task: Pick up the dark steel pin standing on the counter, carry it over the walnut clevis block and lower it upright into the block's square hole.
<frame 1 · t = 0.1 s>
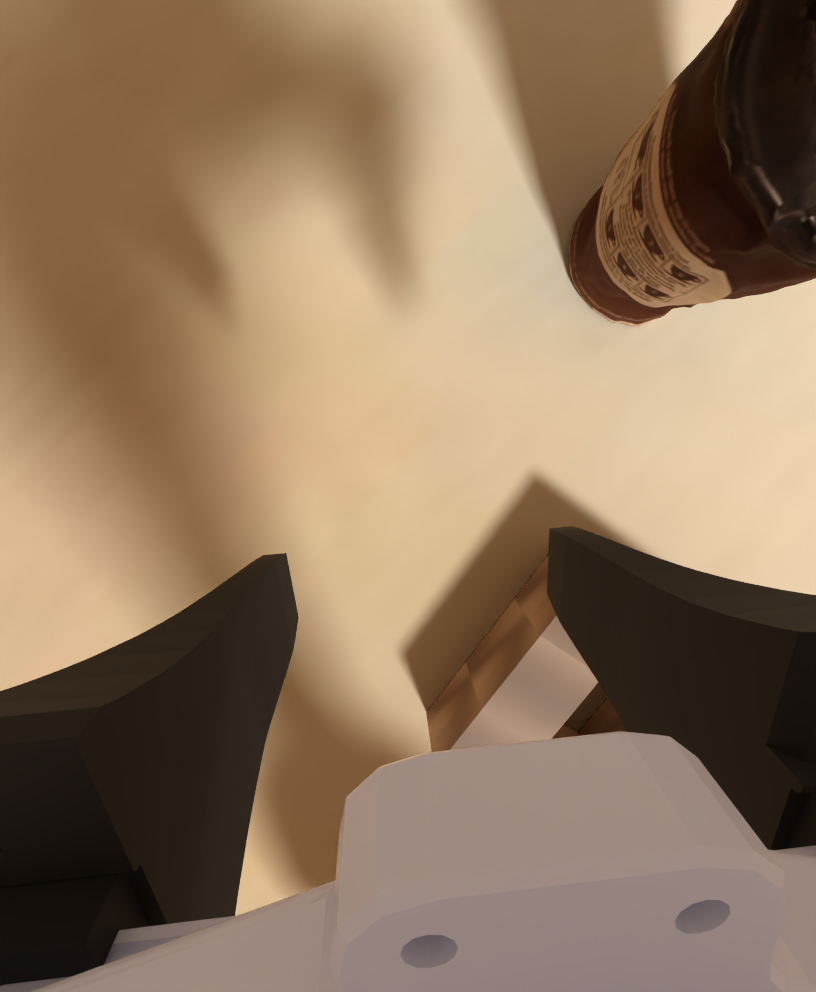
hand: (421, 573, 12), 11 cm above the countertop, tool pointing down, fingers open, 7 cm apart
clevis block: (572, 684, 25), on the countertop
coffee cup: (626, 259, 21), on the countertop
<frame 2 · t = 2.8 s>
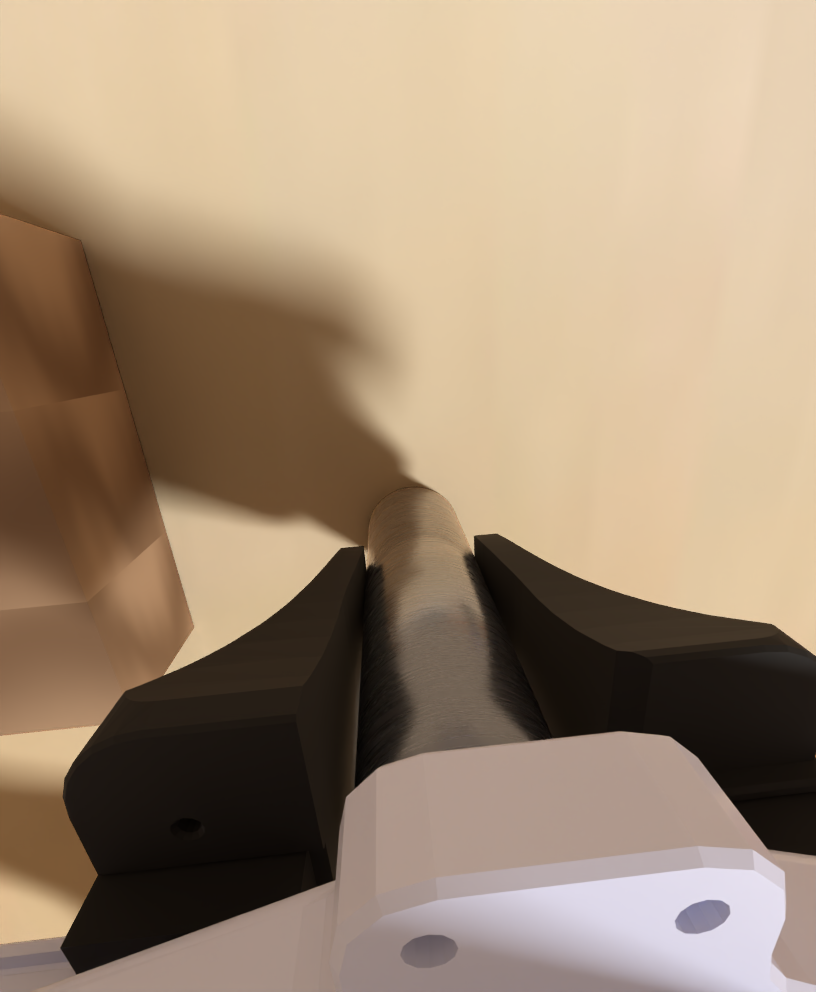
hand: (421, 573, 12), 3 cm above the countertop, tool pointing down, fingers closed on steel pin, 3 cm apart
steel pin: (413, 529, 14), on the countertop, touching gripper
when the fingers open (5 cm above the countertop, at t = 6.9 s): steel pin drops 2 cm, resting in clevis block.
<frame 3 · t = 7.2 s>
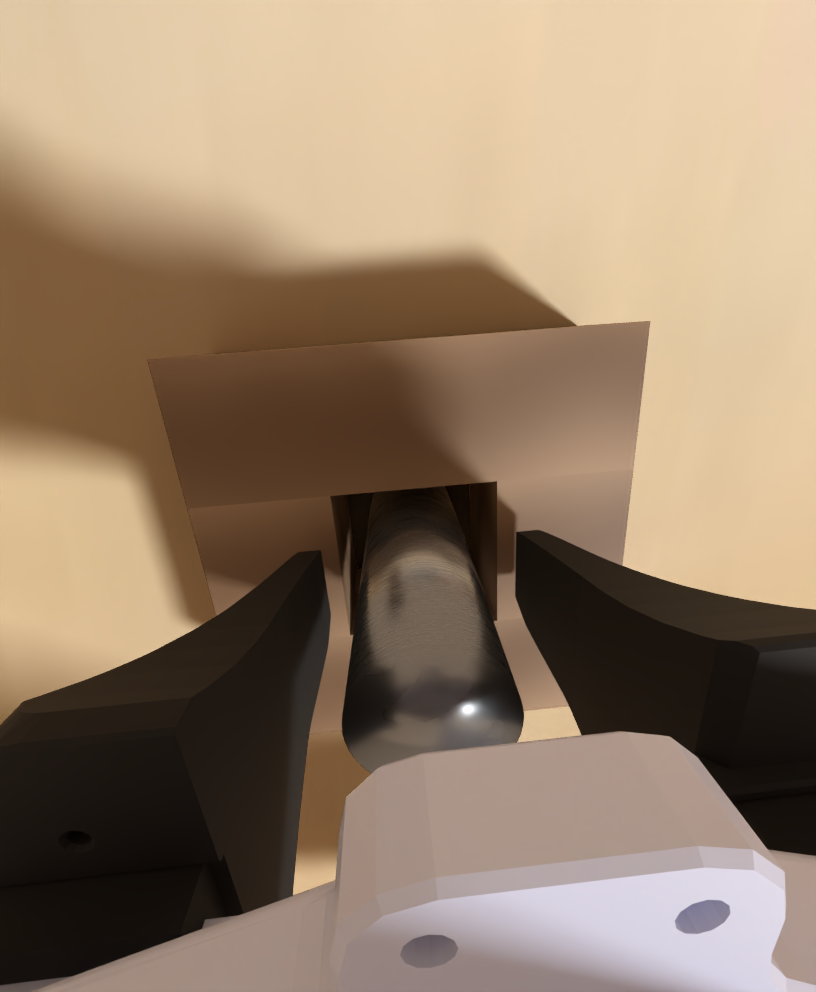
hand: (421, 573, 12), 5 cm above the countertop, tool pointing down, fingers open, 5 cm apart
steel pin: (411, 509, 16), resting in clevis block
clevis block: (410, 510, 16), on the countertop
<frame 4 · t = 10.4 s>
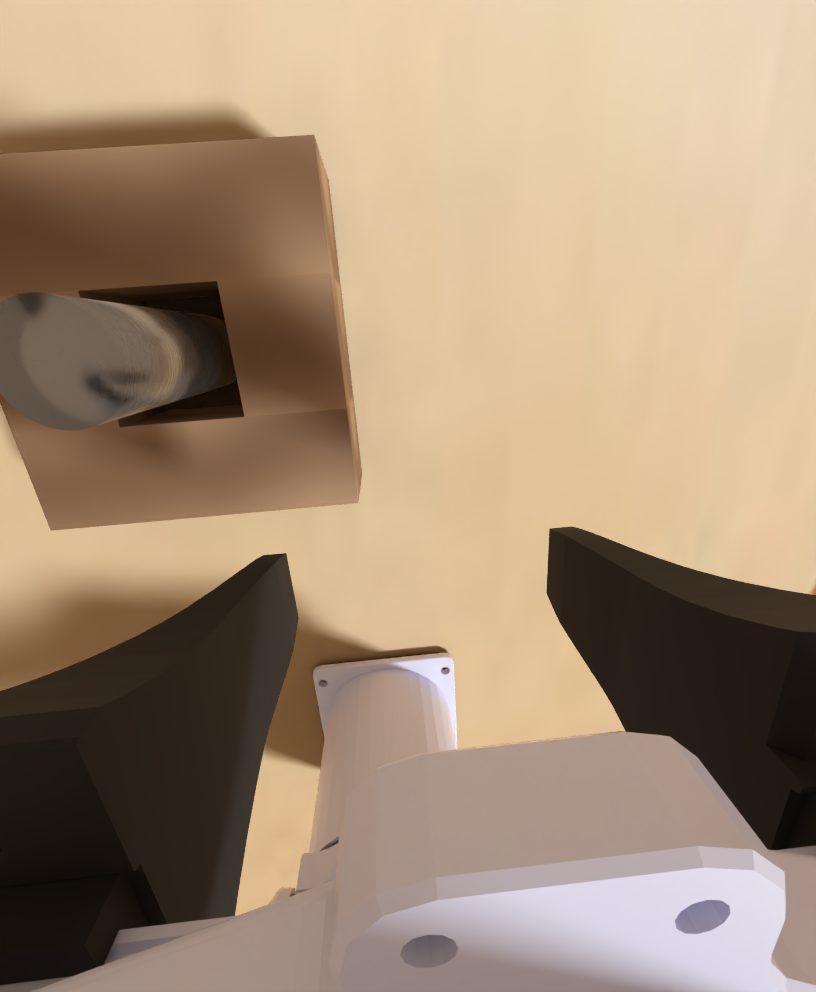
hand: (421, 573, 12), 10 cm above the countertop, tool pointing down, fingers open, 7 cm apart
steel pin: (209, 352, 19), resting in clevis block
clevis block: (208, 353, 19), on the countertop
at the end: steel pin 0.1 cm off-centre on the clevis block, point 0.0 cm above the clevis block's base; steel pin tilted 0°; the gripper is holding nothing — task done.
